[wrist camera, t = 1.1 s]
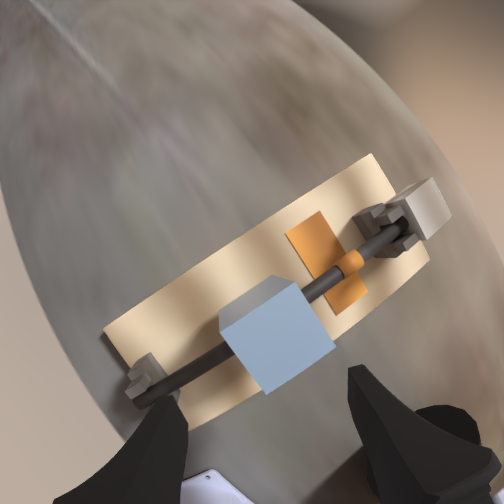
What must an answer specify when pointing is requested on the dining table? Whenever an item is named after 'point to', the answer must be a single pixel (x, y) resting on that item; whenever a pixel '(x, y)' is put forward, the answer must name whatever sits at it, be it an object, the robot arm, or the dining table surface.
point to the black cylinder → (446, 420)
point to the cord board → (286, 266)
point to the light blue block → (274, 332)
